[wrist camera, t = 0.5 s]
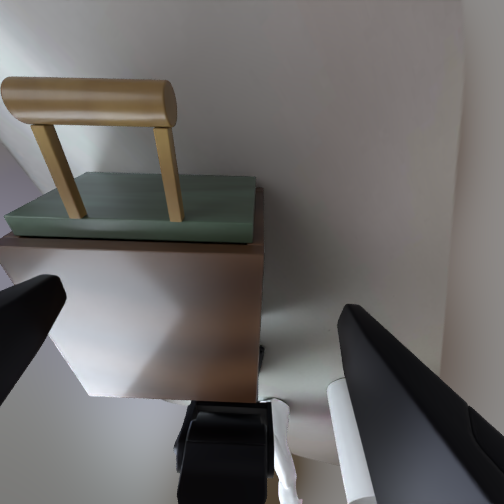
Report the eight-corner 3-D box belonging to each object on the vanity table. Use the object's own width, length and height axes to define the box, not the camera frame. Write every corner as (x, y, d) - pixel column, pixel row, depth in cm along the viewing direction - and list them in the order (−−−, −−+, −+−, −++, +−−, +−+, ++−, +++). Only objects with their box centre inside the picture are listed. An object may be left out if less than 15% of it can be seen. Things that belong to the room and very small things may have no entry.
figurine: (293, 417, 42) (303, 522, 32) (245, 417, 42) (240, 520, 33) (292, 393, 38) (304, 506, 28) (239, 394, 38) (232, 504, 28)
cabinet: (91, 182, 20) (-14, 245, 13) (263, 187, 20) (264, 254, 12) (135, 311, 29) (89, 396, 21) (257, 315, 28) (256, 403, 21)
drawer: (53, 76, 16) (-103, 74, 9) (258, 81, 15) (256, 81, 9) (132, 302, 26) (88, 377, 20) (252, 306, 26) (249, 383, 20)
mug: (327, 402, 39) (349, 513, 29) (321, 378, 35) (344, 496, 25) (397, 395, 37) (447, 511, 27) (398, 369, 33) (456, 492, 23)
